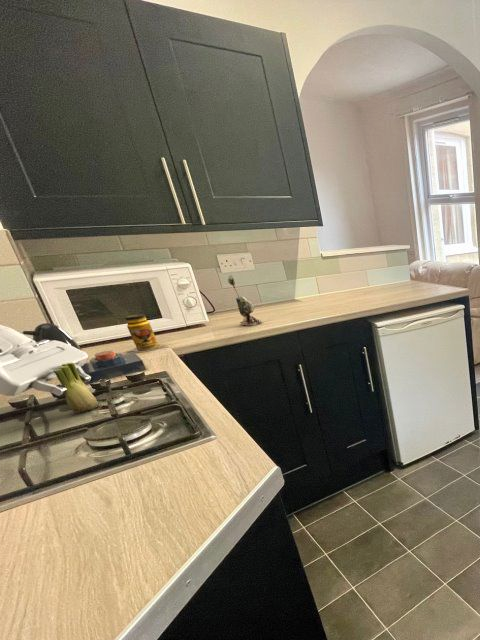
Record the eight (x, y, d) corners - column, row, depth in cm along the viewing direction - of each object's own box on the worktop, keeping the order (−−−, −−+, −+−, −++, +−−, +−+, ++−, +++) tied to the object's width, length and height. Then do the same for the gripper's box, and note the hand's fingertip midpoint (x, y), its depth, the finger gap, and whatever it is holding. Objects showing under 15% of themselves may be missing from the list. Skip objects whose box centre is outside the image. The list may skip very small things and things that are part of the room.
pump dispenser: (35, 376, 127) (8, 328, 121) (75, 364, 136) (52, 318, 130) (59, 378, 124) (33, 329, 118) (98, 365, 134) (76, 319, 127)
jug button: (98, 362, 122) (95, 356, 122) (95, 359, 125) (93, 353, 124) (117, 357, 125) (115, 352, 125) (115, 354, 128) (112, 349, 127)
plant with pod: (239, 329, 167) (222, 278, 159) (240, 322, 176) (224, 274, 168) (262, 325, 171) (247, 275, 163) (261, 319, 180) (247, 272, 172)
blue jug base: (84, 385, 119) (76, 368, 117) (79, 375, 126) (71, 360, 124) (146, 369, 128) (139, 354, 126) (138, 361, 135) (131, 347, 133)
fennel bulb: (80, 416, 100) (56, 369, 95) (64, 415, 101) (39, 369, 96) (106, 405, 105) (84, 360, 100) (91, 404, 106) (68, 360, 101)
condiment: (147, 351, 145) (133, 318, 140) (126, 351, 146) (111, 318, 141) (166, 345, 151) (153, 312, 146) (146, 344, 153) (132, 312, 148)
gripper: (44, 346, 106) (103, 378, 111) (-44, 378, 87) (31, 415, 92) (55, 328, 104) (114, 361, 109) (-33, 356, 86) (43, 395, 91)
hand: (76, 386), depth 100 cm, fingers closed on fennel bulb, 6 cm apart
